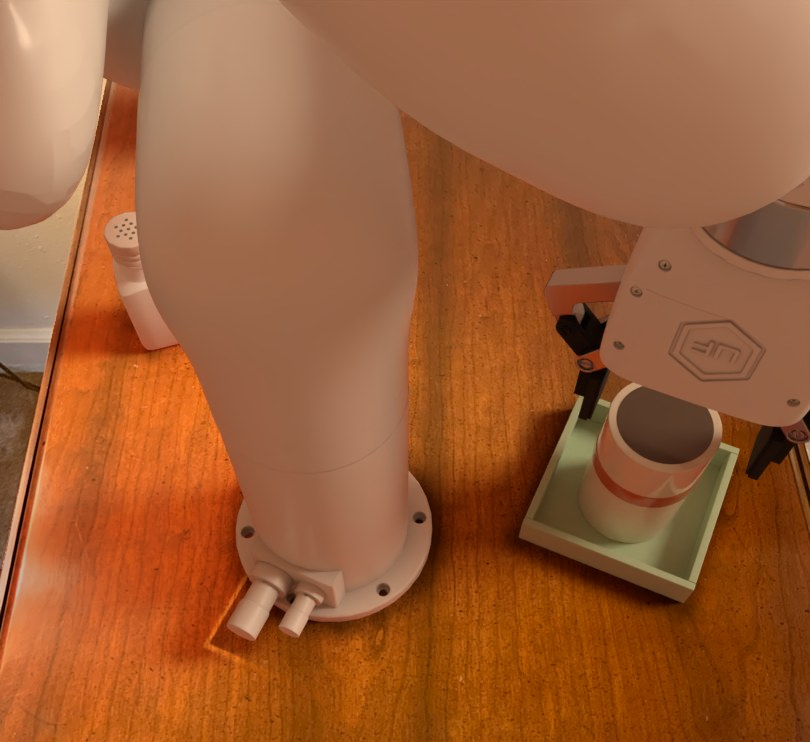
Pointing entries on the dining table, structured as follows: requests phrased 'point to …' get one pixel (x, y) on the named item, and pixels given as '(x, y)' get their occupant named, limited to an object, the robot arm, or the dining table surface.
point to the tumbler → (646, 463)
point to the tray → (635, 562)
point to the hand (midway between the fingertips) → (672, 428)
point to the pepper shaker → (135, 282)
